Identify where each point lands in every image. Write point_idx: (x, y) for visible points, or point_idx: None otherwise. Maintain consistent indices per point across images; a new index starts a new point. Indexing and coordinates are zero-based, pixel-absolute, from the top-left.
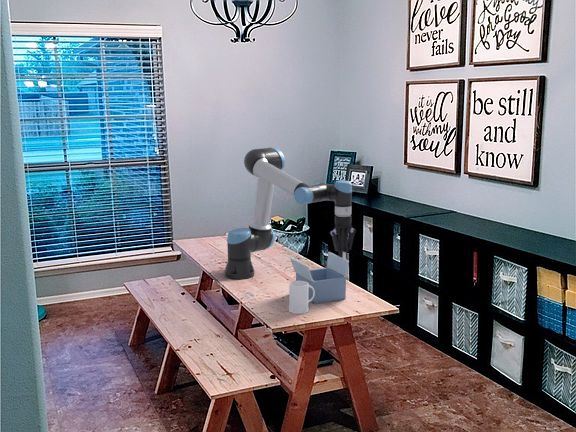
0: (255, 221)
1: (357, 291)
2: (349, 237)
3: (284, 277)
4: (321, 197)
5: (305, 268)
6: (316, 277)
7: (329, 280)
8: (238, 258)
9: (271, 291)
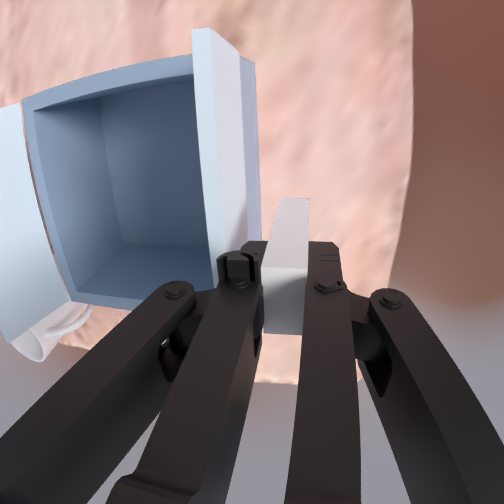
0: None
1: (380, 184)
2: (439, 481)
3: None
4: None
5: (4, 309)
6: (157, 82)
7: None
8: None
9: (27, 60)
